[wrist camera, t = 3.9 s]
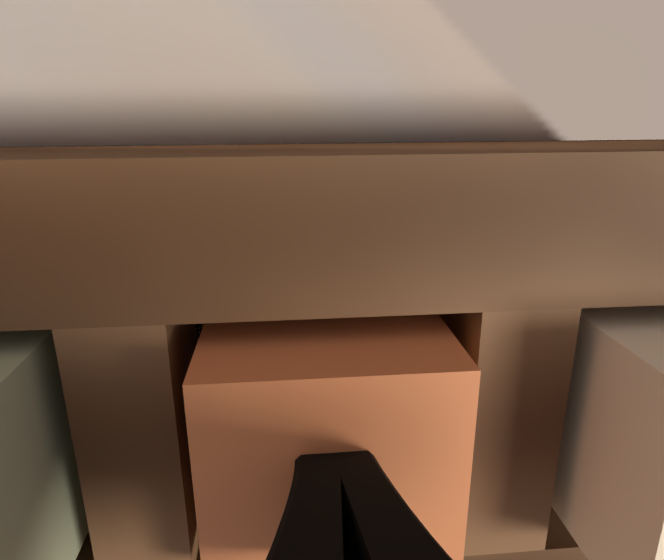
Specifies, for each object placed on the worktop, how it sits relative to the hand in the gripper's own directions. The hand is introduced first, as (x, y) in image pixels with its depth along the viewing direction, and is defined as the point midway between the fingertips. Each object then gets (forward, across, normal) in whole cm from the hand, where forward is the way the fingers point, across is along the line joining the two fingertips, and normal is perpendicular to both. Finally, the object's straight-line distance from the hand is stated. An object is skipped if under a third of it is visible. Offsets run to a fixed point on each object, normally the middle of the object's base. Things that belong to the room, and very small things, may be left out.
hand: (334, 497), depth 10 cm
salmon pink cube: (+4, 0, 0) cm, 4 cm away
